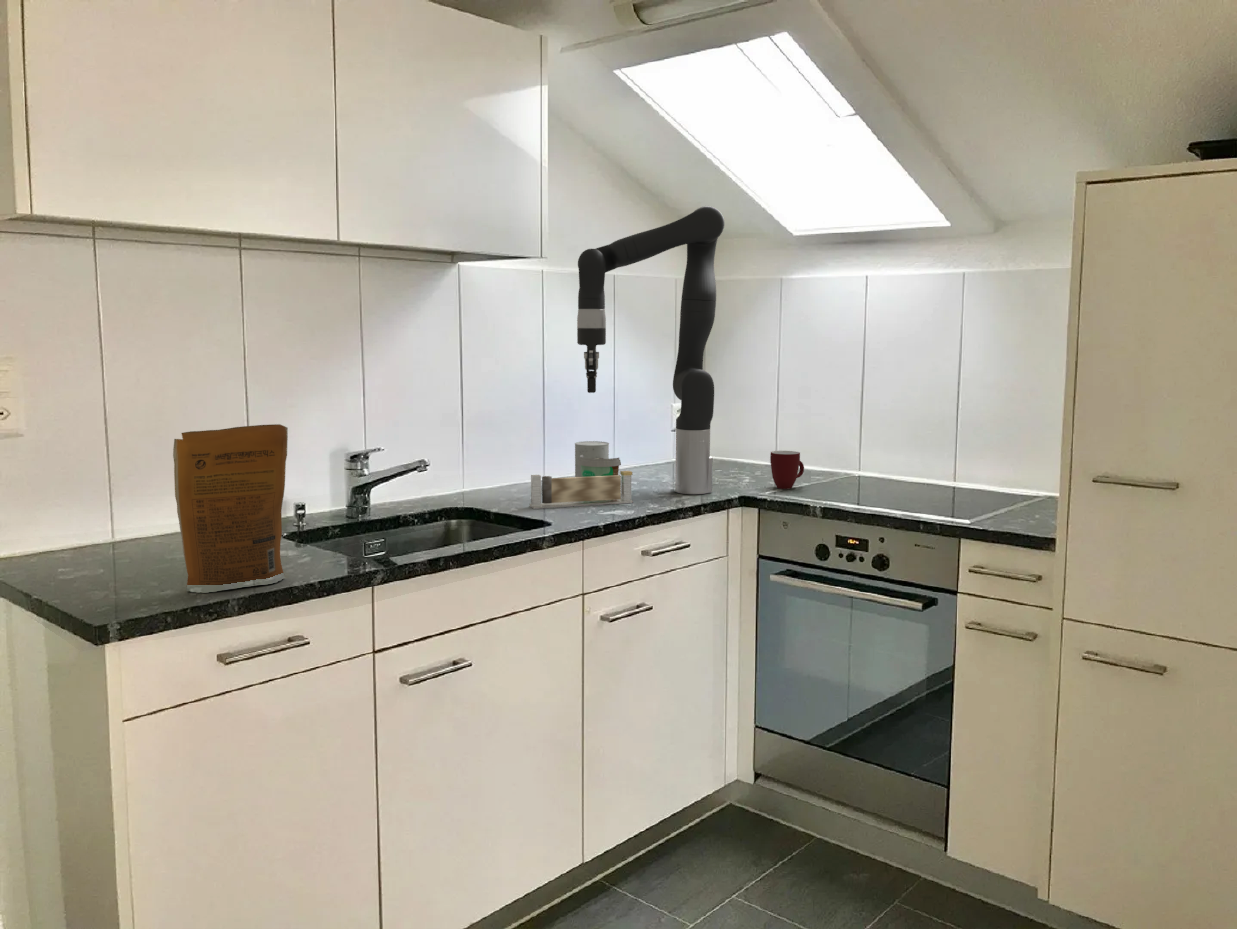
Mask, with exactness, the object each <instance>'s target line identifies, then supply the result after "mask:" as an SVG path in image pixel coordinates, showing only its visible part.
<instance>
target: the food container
mask: <svg viewBox="0 0 1237 929" xmlns="http://www.w3.org/2000/svg"><path fill="white" fill-rule="evenodd" d="M578 464H579V465H581V475H582V477H591V476H614V475H619V470H620V466H622V462H621V458H620V457H615V458H609V459H603V458H594V459H590V458H583V455H581V456H580V458H579V461H578Z"/></svg>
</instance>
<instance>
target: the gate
mask: <svg viewBox="0 0 1237 929" xmlns="http://www.w3.org/2000/svg"><path fill="white" fill-rule="evenodd" d="M617 499H621V474H618V475H614V476H591V477H575V476H574V477H570V476H569V477H553V476H550V475H543V476H541V504H542V503H545V504H548V503H559V502H579V501H598V500H617Z"/></svg>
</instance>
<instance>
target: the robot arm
mask: <svg viewBox="0 0 1237 929" xmlns="http://www.w3.org/2000/svg"><path fill="white" fill-rule="evenodd" d="M724 228H725V217H724V216H723V213H722V212H721V211H720V210H719V209H717V208H716V207H714V206H709V205H707V206H706V205H705V206H701V207H697V208H696V209H695V210H694V211H693V212H691V213H690V214H687V215H686V216H683V217H682V218H679V219H677V220H675V221H672V222H670V223H668V224H665V225H661V226H659V227H655V228H651V229H649V230H644V231H641V232H639V233H638V232H637V233H634V234H632V235H628V236H625V237H623V238H619V239H617V240H614V241H613V242H611V243H609V244H606V245H603V246H602V245H601V246H599V247H596V248H587V249H585V250H584V251H582V252H581V254H580V255H579V256H578V257H579V258H578V259H577V268H578V279H579V280H578V284H579V289H578V296H577V308H578V310H577V317H576V319H577V320H576V321H577V322H576V323H577V324H576V326H577V327H576V329H577V330H576V331H577V332H576V335H577V336H576V338H577V340H576V341H577V342H576V343H577V345H580V346H586V351H584V352H583V359H584V369H585V371H586V373H585V375H586V378H587V383H586V384H587V387H586V388H587V389H586V390H587V393H589V394H591V393H593V394H594V393H597V392H596V391H597V377H598V372H597V370H599V358H600V352H599V351H597V346H604V345H606V343H607V337H606V336H607V335H606V334H607V333H606V332H607V322H606V321H607V317H606V306H605V305H606V303H605V302H606V296H605V294H606V293H605V282H606V281H605V279H606V278H605V277H606V273H608V272H611V271H614V270H615V269H617V268H623V267H627V266H629V265H630V266H631V265H633V264H635V263H639V262H642V261H645V260H648V259H649V258H652V257H655V256H657V255H660V254H662V253H663V252H666V251H668V250H669V251H670V250H671V249H674V248H677V247H681V246H683V245H686V266H685V270H684V271H685V272H684V277H683V283H682V284H683V285H682V291H681V292H682V293H681V300H680V311H679V312H680V314H679V316H680V318H679V328H678V329H679V331H678V332H679V334H678V349H677V356H676V357H677V358H676V363H675V368H674V374H673V380H672V391H673V392H674V395H675V396H676V397H677V398H676V399H679V400H680V413H679V415H678V416H677V418H676V420H675V472H674V473H675V479H674V480H675V484H674V485H675V486H674V487H675V488H674V491H675V493H678V494H684V495H703V494H704V495H705V494H709V493H713V478H714V477H713V476H714V475H713V473H714V472H713V470H714V469H713V463H714V460H713V459H714V458H713V457H712V456H711V451H710V450H711V423H712V420H713V417H714V407H715V406H714V404H715V383H714V379H713V377H712V375H711V374H710V373H709V372H707V371H706V370H704V356H705V355H704V354H705V348H706V345H707V342H708V340H709V337H710V334H711V332H712V330H713V325H714V322H715V318H716V306H717V284H716V282H717V281H716V275H715V273H716V272H715V254H716V250H717V243H718V238H719V237H720V236H721V235H722V233H723V231H724Z"/></svg>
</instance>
